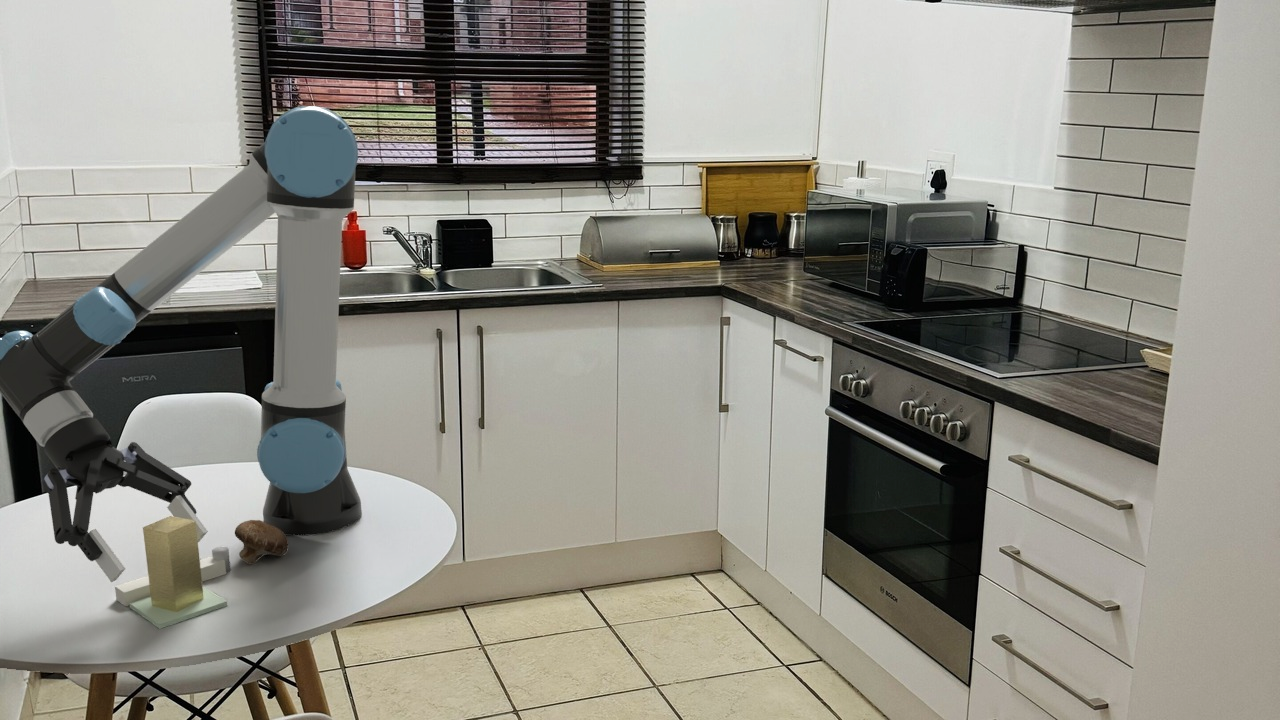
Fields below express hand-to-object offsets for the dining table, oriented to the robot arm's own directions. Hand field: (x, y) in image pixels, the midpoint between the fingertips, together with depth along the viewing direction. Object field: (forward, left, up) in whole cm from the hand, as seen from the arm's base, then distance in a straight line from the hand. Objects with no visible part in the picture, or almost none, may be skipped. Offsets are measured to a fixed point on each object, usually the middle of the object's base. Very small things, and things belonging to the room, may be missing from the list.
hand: (161, 556), depth 144 cm
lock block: (-1, +1, -6) cm, 7 cm away
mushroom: (-13, -11, -7) cm, 19 cm away
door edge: (-1, -6, -7) cm, 9 cm away
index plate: (-1, +1, -7) cm, 7 cm away
